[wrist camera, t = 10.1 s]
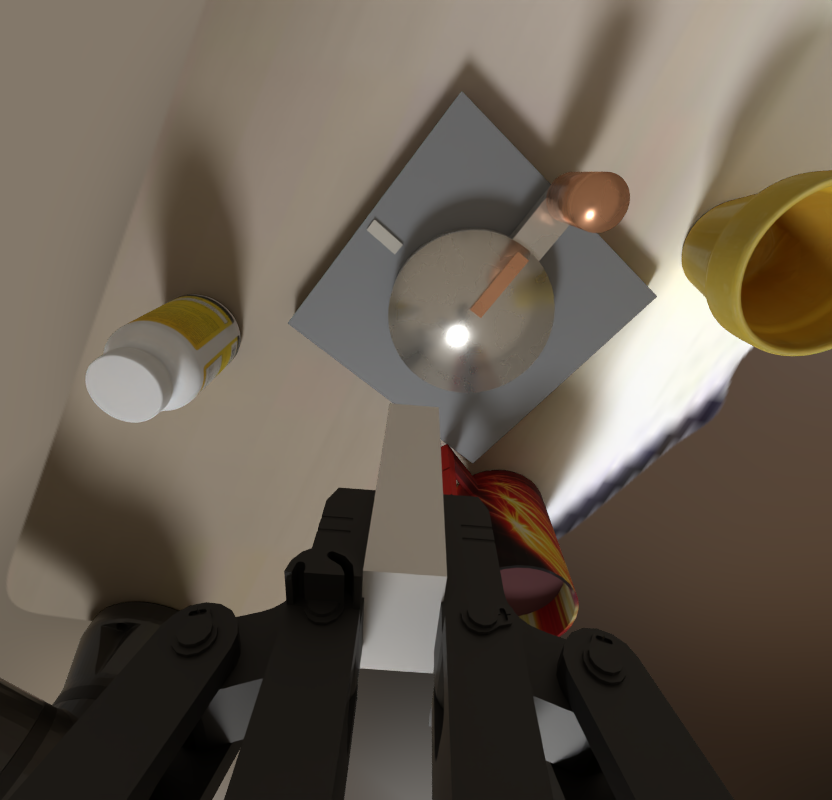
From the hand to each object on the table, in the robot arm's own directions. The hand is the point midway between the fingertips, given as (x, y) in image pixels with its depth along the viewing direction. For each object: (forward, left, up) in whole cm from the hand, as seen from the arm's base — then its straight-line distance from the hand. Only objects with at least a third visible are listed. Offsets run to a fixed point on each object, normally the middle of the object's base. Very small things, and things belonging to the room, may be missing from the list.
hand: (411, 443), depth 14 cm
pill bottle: (-15, +11, -25) cm, 31 cm away
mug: (-13, -18, -25) cm, 33 cm away
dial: (+4, -4, -22) cm, 23 cm away
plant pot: (+17, -16, -25) cm, 34 cm away
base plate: (+1, -4, -24) cm, 25 cm away
